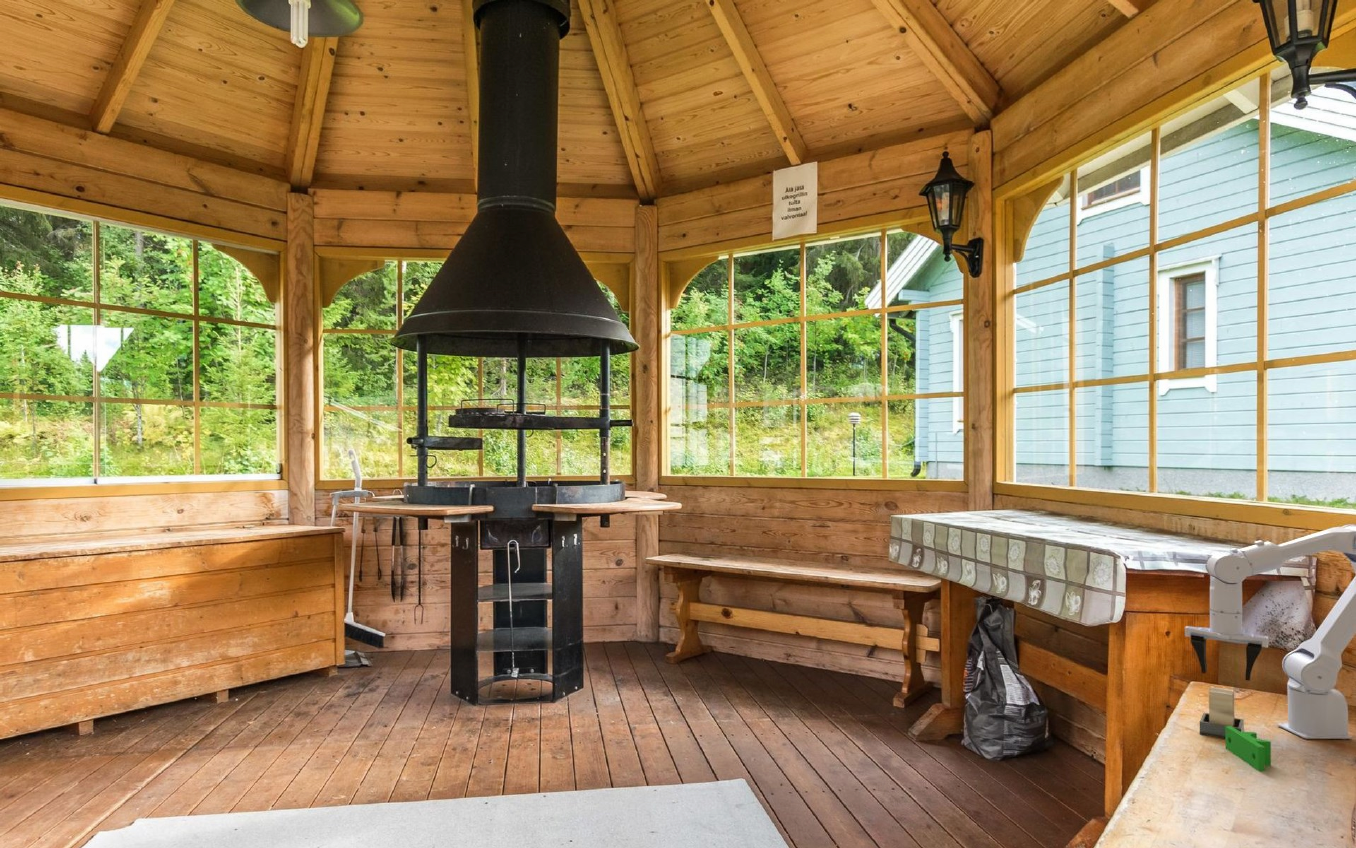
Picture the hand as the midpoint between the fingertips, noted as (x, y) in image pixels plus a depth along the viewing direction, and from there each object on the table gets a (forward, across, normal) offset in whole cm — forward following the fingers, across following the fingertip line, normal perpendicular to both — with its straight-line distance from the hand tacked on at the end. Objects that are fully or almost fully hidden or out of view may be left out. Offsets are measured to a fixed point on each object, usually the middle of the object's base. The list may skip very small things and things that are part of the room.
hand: (1225, 676), depth 173 cm
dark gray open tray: (+10, 0, -5) cm, 12 cm away
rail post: (+10, 0, -5) cm, 11 cm away
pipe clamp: (+11, +6, -19) cm, 23 cm away
